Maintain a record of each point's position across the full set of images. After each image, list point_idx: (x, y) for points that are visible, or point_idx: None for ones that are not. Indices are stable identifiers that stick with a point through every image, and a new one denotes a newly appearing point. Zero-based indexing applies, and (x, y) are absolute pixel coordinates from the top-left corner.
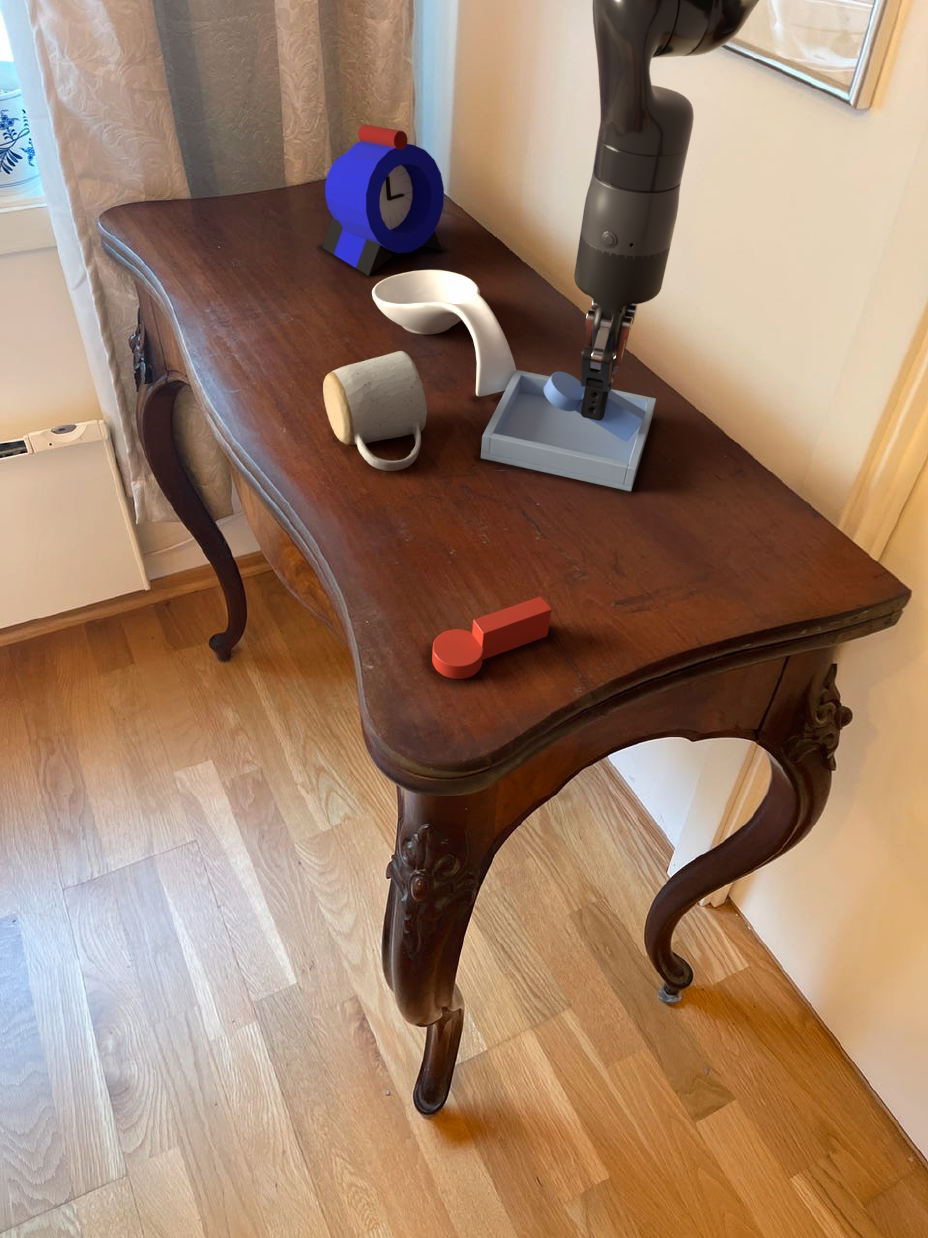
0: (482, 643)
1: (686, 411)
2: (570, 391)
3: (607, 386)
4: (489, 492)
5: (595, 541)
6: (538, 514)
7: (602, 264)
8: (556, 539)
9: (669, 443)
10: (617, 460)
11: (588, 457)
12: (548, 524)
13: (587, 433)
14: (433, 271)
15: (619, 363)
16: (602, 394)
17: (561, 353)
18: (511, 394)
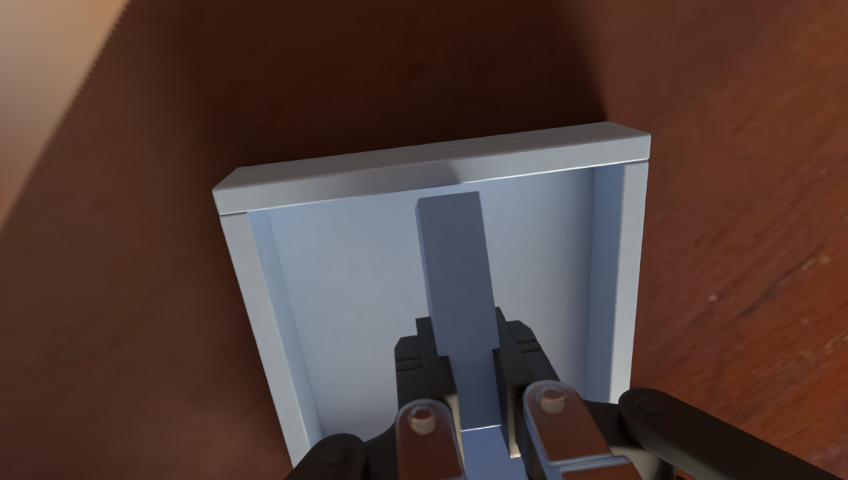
0: None
1: (103, 73)
2: (499, 446)
3: (709, 416)
4: (696, 387)
5: (821, 143)
6: (747, 284)
7: None
8: (824, 224)
9: (326, 80)
10: (623, 197)
11: (636, 272)
12: (776, 255)
13: (426, 301)
14: None
15: (631, 467)
16: (559, 379)
17: (75, 469)
18: None
